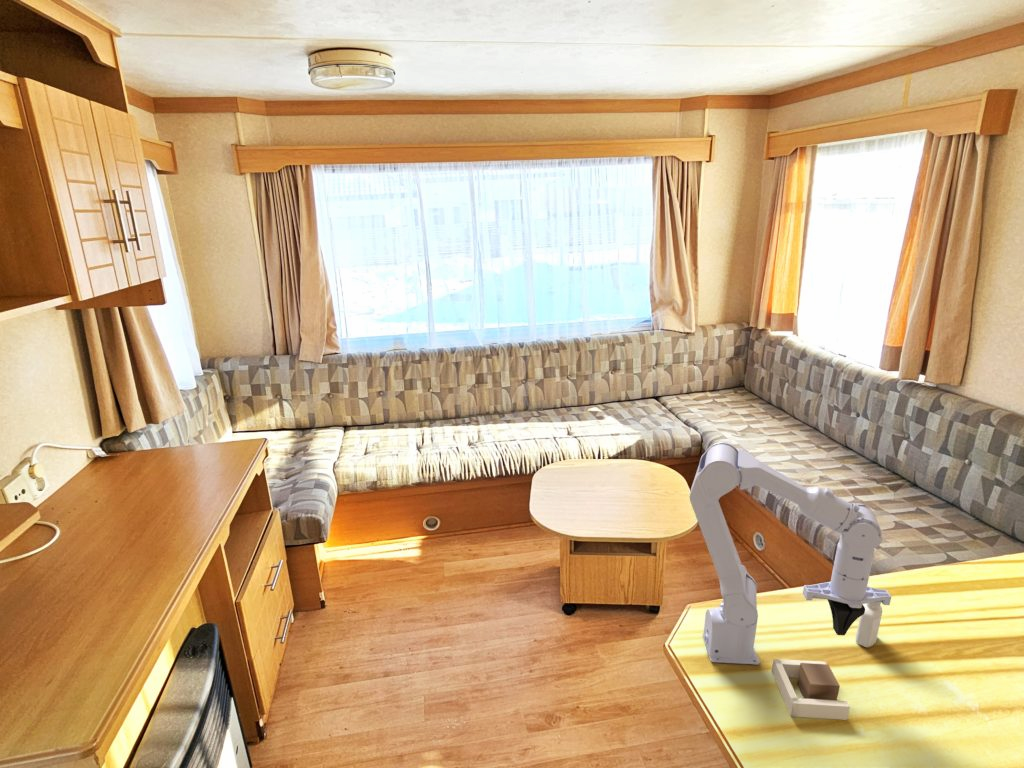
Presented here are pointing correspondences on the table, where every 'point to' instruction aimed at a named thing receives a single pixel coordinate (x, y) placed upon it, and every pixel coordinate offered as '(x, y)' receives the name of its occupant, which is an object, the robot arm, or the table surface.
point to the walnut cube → (817, 682)
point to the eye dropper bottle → (869, 624)
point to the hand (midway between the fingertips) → (838, 631)
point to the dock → (801, 705)
